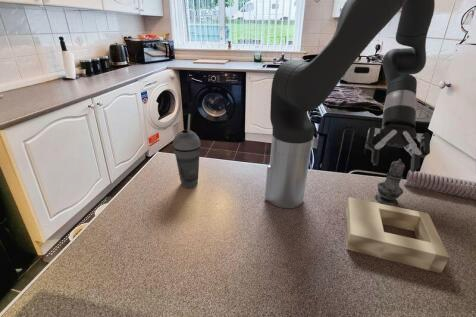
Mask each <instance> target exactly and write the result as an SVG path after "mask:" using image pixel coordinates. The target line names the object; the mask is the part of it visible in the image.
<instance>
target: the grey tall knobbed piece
mask: <svg viewBox="0 0 476 317" xmlns="http://www.w3.org/2000/svg"><path fill="white" fill-rule="evenodd" d="M405 169H406V166H405V163H404V162H402V159H401V158H399V159H398V160H395V161H392V162H391V164H390V168H389V171H387V172H386V177H385V181H381V182H378V183H377V186H376V187H377V191H378V193H377V194H375V197H374V199H375V200H376V201H377V203H379V204H384V205H389V206H394V207H396V206H397V205H398V204H399V201H398V199H399V198H400V196H401V195H403V194H404V190H403V188H402V187H401V186H400V182H401V180H402V179H403V178H404V176H403V173H404V170H405Z"/></svg>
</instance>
